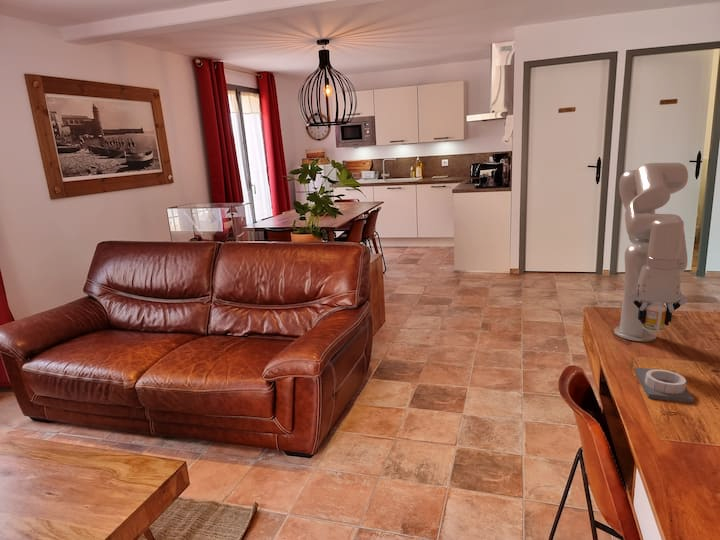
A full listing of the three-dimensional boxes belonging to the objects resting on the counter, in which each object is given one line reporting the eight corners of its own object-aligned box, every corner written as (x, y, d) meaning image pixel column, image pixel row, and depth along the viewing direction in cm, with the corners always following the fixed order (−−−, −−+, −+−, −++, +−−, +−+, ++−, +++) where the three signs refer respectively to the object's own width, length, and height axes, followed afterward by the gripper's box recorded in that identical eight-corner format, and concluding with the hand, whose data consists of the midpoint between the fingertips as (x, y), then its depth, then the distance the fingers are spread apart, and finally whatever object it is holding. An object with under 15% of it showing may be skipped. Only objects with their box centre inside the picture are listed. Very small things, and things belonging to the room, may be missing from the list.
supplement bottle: (658, 325, 144) (662, 294, 141) (667, 332, 139) (672, 300, 136) (638, 325, 145) (642, 294, 142) (647, 332, 140) (651, 300, 137)
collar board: (634, 371, 140) (636, 359, 139) (674, 375, 137) (676, 363, 136) (648, 398, 125) (650, 385, 124) (693, 403, 122) (695, 389, 121)
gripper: (692, 260, 137) (683, 320, 142) (625, 258, 142) (618, 316, 147) (702, 268, 130) (691, 330, 135) (630, 265, 135) (623, 325, 140)
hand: (653, 322), depth 141 cm, fingers closed on supplement bottle, 5 cm apart
